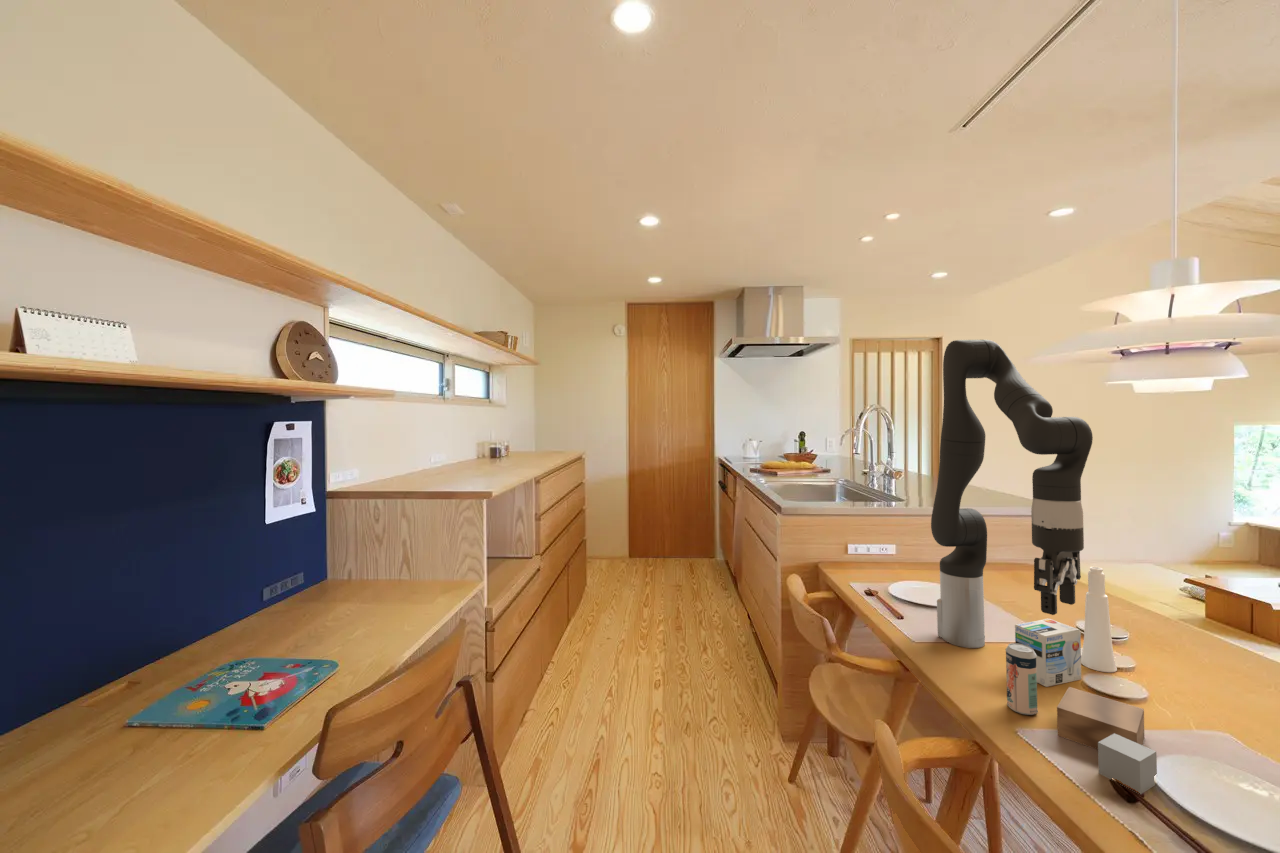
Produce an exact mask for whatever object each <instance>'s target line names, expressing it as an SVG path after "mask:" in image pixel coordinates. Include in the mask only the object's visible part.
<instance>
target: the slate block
mask: <svg viewBox="0 0 1280 853" xmlns="http://www.w3.org/2000/svg"><path fill="white" fill-rule="evenodd" d="M1097 753H1098V754H1097V758H1098V759H1097V760H1098V763H1097V764H1098V774H1099V775H1101V776H1103V777H1105V778H1107V779H1109V780H1111V779H1112V778H1114V779H1117V780H1119V781H1121V782H1122V783H1123V784H1126V785H1128V786H1130V787H1131V788H1133V789H1135V790H1136V791H1138V792H1139V793H1140V794H1139V793H1138V794H1139V795H1142V794H1145V793H1146V791H1148V790H1150V789H1151V788H1153V787H1155V786H1156V785H1155V783H1154V776H1155V775H1156V774H1157V775H1158V767H1157V766H1158V764H1157V760H1158V758H1157V757H1158V756H1157V751H1156V750H1154V749H1151V748H1149V747H1147V746H1144V745H1140V744H1138V743H1136V742H1133V741H1131V740H1129V739H1126V738H1124V737H1122V736H1120V735H1117V734H1115V733H1114V734H1112V735H1110V736H1109V737H1107V738H1105V739H1103V740H1101V741H1099V742H1098V750H1097Z"/></svg>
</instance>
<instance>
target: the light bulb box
mask: <svg viewBox="0 0 1280 853" xmlns="http://www.w3.org/2000/svg"><path fill="white" fill-rule="evenodd" d="M1081 632H1082V631H1081V630H1080V629H1079V628H1077V627H1073V626H1071V625H1068V624H1066V623H1063V622H1059V621H1057V620H1055V619H1051V618H1044V619H1038V620H1033V621H1028V622H1023V623H1017V624H1014V637H1015V639H1014V640H1015V643H1017V644H1023V645H1026V646H1029V647H1031V648H1032V649H1033V650H1034V652H1035V653H1036V655H1037V657H1036V672H1037V684H1040V685H1042V686H1044V687H1046V688H1048V687H1053V686H1056V685H1062V684H1066V683H1071V682H1075V681H1080V680H1082V663H1081V656H1082V642H1081V639H1082V638H1081Z"/></svg>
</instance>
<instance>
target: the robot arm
mask: <svg viewBox="0 0 1280 853" xmlns="http://www.w3.org/2000/svg"><path fill="white" fill-rule="evenodd" d="M942 361H943V362H942V363H943V364H942V382H943V385H942V386H943V407H942V408H943V410H942V411H943V412H942V424H941V433H940V443H939V444H940V446H939V465H938V474H937V485H936V492H935V496H934V502H933V507H932V511H931V519H930V528H931V529H930V530H931V534H932V537H933V540H934V541H935V542H936V543H937V544H938V545H940V546H942V547H947V548H948V547H955V548H954V550H953V551H951V552H950V553H948V554H947V555H945V556H944V557H942V558H940V560H939V582H940V583H939V584H940V586H939V587H940V589H939V590H940V598H938V599H937V600H936V617H937V618H936V620H937V622H936V623H937V626H936V627H937V637H938V636H940V637H939V638H941V637H942V638H943V639H942V638H941V639H942V640H943V641H945V640H946V641H947V643H948V642H949V643H948V644H951V645H953V646H958V647H961V648H966V649H967V648H968V649H977V648H979V649H980V648H983V647H984V646H985V645H986V635H985V632H986V631H985V600H984V598H985V596H984V594H985V593H984V568H985V566H986V564H987V557H988V556H987V551H988V550H987V548H988V528H987V523H986V519H985V518H984V516H983V515H982V514H981V512H980V511H979V510H976V509H973V508H968V507H967V508H961V502H962V497H963V494H964V492H965V490H966V488H967V486H968V485H969V484H970V482H972V480H973V478H974V476H976V473H977V472H978V471H979V469H980V468H981V466H982V464H983V462H984V459H985V451H986V450H985V449H986V448H985V447H986V446H985V445H986V431H985V429H984V426H983V425H982V423H981V420H979V417H978V416H977V414H976V413H975V412H974V410H973V408H972V407H971V406H972V405H970V401H969V400H968V395H967V388H966V387H967V384H966V383H967V381H966V380H967V379H984V378H986V379H989V380H990V381H992V382H993V383H995V388H994V390H993V391H994V392H993V398H994V402H995V404H996V406H997V407H998V408H999V410H1000V411H1001V412H1002V414H1004V415H1005V416H1006V417H1007V418H1008V420H1010V421H1011V422H1012V425H1013V427H1014V430H1015V432H1016V434H1017V437H1018V439H1019V443H1020V445H1021V447H1023V448H1024V449H1025V450H1026V451H1028V452H1030V453H1032V454H1035V455H1042V456H1044V455H1056V457H1055V459H1054V460H1053V462H1052V463H1051V464H1049V465H1045V466H1042V467H1037V468H1036V469H1034V471H1033V472H1032V481H1031V482H1032V483H1031V484H1032V502H1031V511H1030V512H1031V516H1030V517H1031V543H1032V545H1033V546H1034V547H1035V548H1040V549H1041V550H1042V551H1043V552H1042V556H1041V558H1039V557H1034V558H1033V589H1034V591H1037V592H1039V593H1040V611H1041V612H1042V613H1043V614H1048V615H1051V616H1055V615H1056V614H1058V589H1059V602H1061V603H1063V604H1066V605H1069V606H1072V605H1074V604H1076V585H1077V584H1078V580H1079V581H1080V580H1081V578H1082V576H1081V556H1080V554H1081V551H1083V550H1084V548H1085V544H1084V543H1085V542H1084V541H1085V540H1084V535H1085V533H1084V511H1083V510H1084V509H1083V506H1082V485H1081V484H1082V483H1081V482H1082V481H1081V480H1082V477H1083V472H1084V469H1085V467H1086V463H1087V461H1088V457H1089V455H1090V451H1091V450H1092V445H1093V441H1094V440H1093V432H1092V428H1091V427H1090V425H1089V423H1088V422H1087V421H1086V420H1084V419H1083V418H1080V417H1078V416H1057V417H1056V416H1053V412H1054V411H1053V406H1052V404H1051V403H1050V401H1048V400H1047V399H1046V398H1045V397H1044V396H1043V395H1042V394H1040V392H1038V391H1037V390H1036V389H1034V387H1032V385H1030V384H1029V383H1028V382H1027V381H1026V379H1024V378H1023V377H1022V375H1021V373H1020V372H1019V370H1018V369H1017V368H1016V366H1015V364H1014V363H1013V362H1012V360H1011V359H1010V357H1009V356H1008V355H1007V353H1006V351H1005V350H1004V349H1003V348H1002V347H1001V345H1000V344H999V343H997V342H995V341H994V340H991V339H957V340H956V339H955V340H952V341H950V342H949V343H948V344H947V346H946V348H945V350H944V353H943V360H942ZM946 641H945V642H946Z"/></svg>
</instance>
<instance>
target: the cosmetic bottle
mask: <svg viewBox="0 0 1280 853" xmlns="http://www.w3.org/2000/svg"><path fill="white" fill-rule="evenodd" d="M1103 571H1104V569H1103V568H1102V567H1099V566H1089V570H1088V572H1087V583H1088V584H1087V588H1088V589H1087V590H1088V591H1087V592H1086V593H1085V600H1084V601H1085V606H1084V607H1085V608H1084V626H1083V628H1084V632H1083V643H1082V644H1083V645H1082V649H1081V665H1083V666H1084V667H1086V668H1087V669H1091V670H1094V671H1098V672H1102V673H1116V672H1117V671H1118V668H1117V664H1116V660H1115V653H1114V648H1113V639H1112V630H1111V618H1110V605H1109V597H1108V595H1107V594H1106V579H1105V578H1106V575H1105V573H1104V572H1103Z"/></svg>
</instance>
